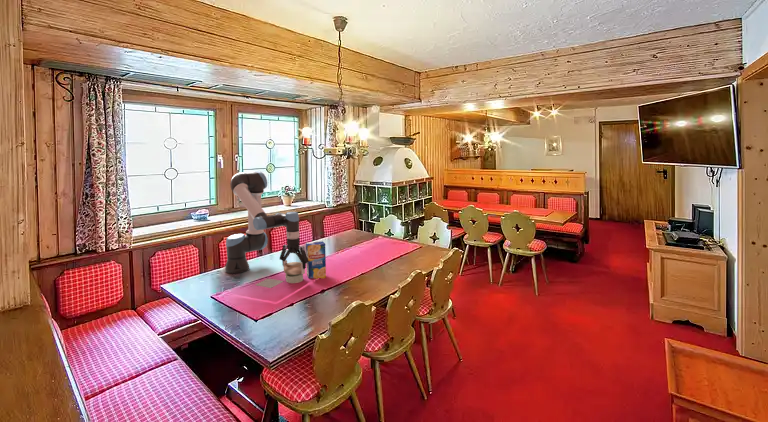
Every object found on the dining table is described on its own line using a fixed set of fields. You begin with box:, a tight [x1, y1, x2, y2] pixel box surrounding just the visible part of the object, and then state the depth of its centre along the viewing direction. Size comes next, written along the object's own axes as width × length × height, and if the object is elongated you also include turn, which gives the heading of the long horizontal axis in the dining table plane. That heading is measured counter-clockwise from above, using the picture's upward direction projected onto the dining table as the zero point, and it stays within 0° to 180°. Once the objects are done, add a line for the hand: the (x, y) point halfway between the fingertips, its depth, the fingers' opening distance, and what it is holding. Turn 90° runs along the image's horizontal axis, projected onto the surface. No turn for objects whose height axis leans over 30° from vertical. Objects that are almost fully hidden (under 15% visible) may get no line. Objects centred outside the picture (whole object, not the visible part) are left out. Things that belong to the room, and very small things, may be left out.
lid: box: [283, 261, 302, 275], centre depth 236 cm, size 12×12×4 cm
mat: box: [255, 278, 284, 289], centre depth 232 cm, size 12×12×1 cm
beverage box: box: [305, 240, 327, 280], centre depth 244 cm, size 7×11×22 cm, turn 111°
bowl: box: [284, 274, 304, 284], centre depth 237 cm, size 10×10×5 cm
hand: (294, 272), depth 236 cm, fingers closed on lid, 12 cm apart
